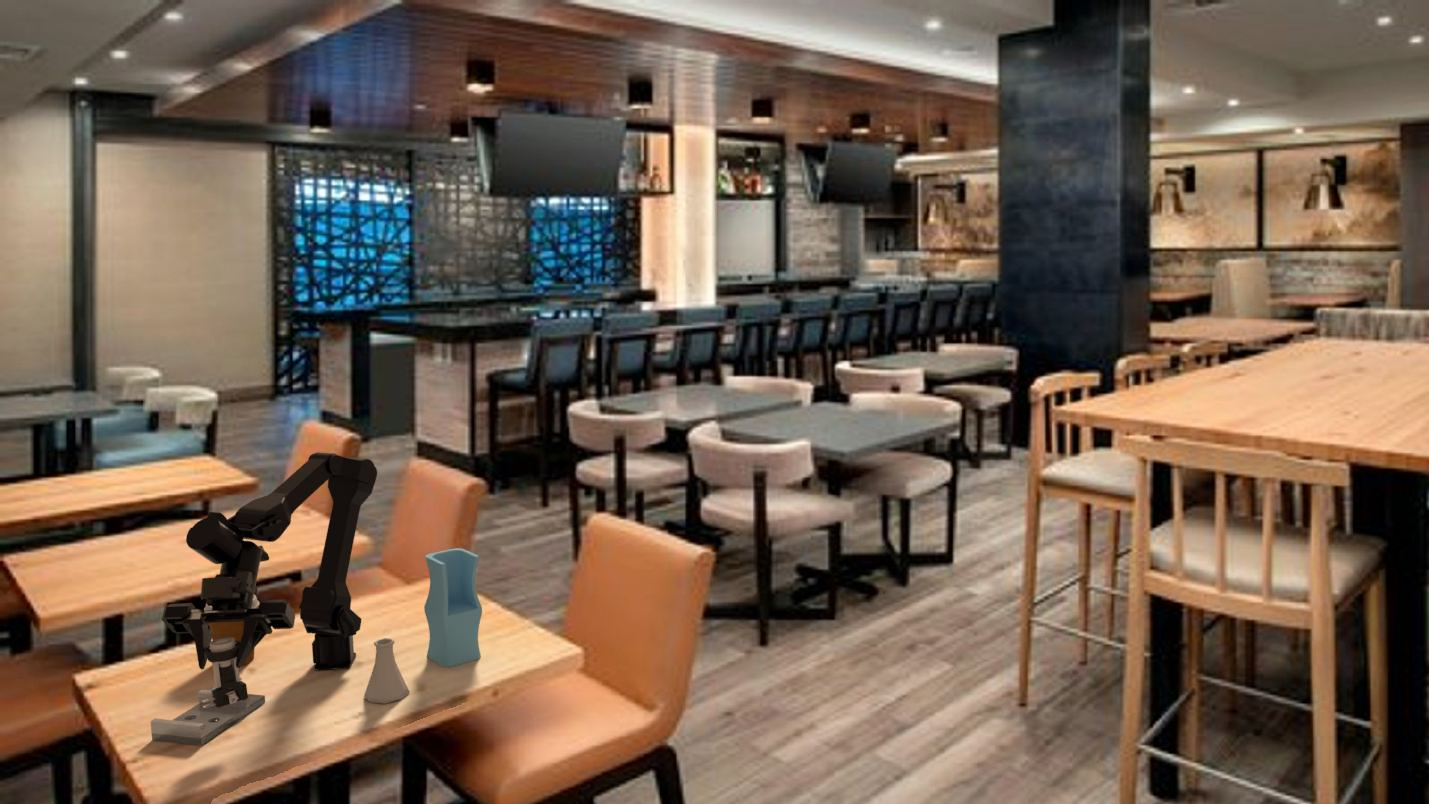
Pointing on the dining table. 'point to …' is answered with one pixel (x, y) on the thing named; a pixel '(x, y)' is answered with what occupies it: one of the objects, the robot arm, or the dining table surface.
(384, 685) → the flask
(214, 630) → the disposable coffee cup
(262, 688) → the dining table surface
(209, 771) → the dining table surface
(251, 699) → the bracket
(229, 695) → the push button
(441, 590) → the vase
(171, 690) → the dining table surface
